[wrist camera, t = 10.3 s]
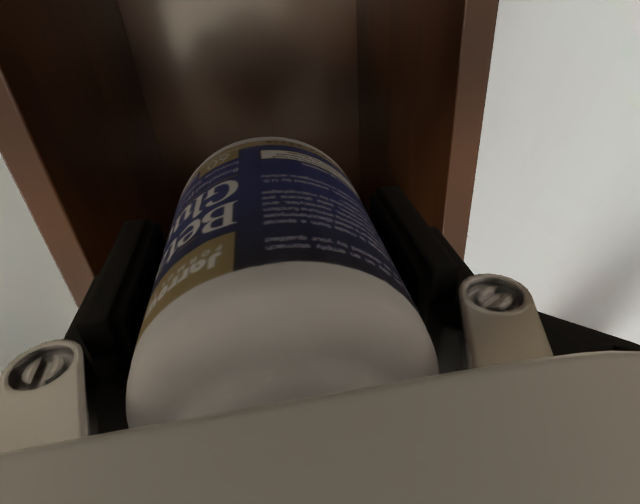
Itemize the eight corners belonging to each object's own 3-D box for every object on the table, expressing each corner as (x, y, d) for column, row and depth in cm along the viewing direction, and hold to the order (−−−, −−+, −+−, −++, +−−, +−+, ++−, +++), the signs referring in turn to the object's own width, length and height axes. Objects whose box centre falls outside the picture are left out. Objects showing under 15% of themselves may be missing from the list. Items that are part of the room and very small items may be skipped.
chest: (370, 201, 28) (452, 342, 17) (170, 228, 27) (122, 398, 16) (368, -146, 18) (543, -323, 8) (62, -128, 17) (-231, -305, 7)
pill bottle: (209, 99, 11) (115, 434, 3) (385, 170, 13) (632, 498, 5) (157, 264, 13) (26, 704, 5) (312, 304, 15) (394, 677, 7)
